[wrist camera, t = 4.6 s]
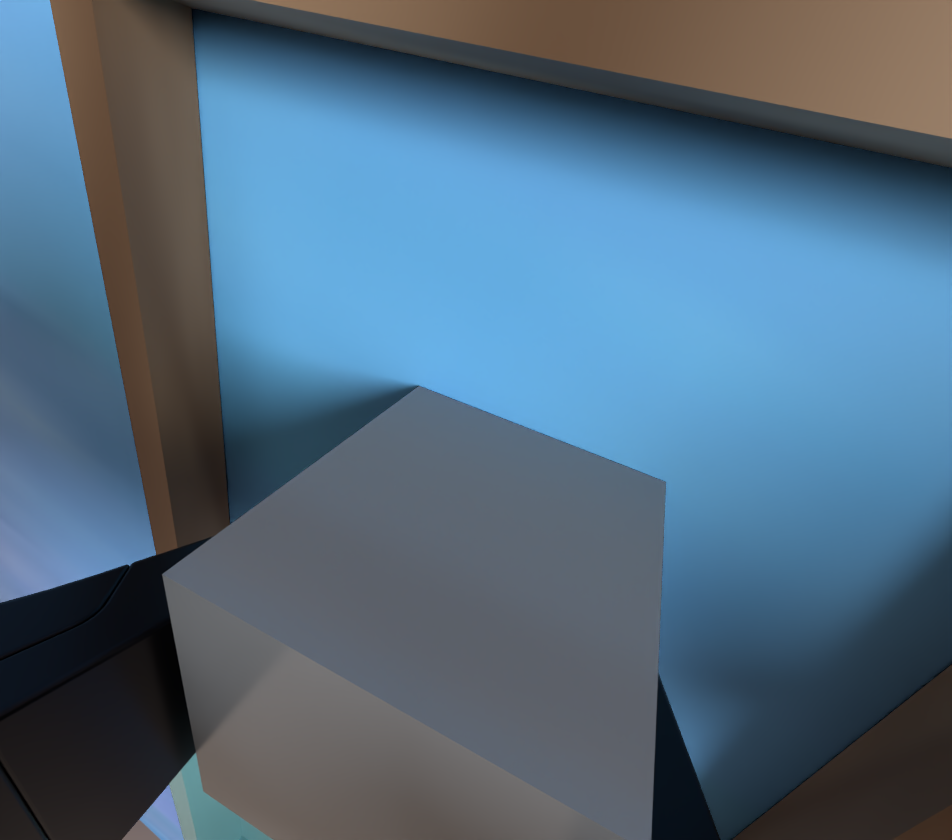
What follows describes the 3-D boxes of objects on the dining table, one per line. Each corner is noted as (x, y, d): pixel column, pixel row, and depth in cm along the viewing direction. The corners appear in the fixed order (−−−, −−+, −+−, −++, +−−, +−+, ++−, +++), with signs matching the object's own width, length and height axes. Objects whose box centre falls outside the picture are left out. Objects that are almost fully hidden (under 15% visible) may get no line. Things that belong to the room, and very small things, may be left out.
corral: (1728, 194, 3) (2343, 194, 2) (721, 893, 11) (727, 981, 10) (144, -71, 7) (24, -131, 6) (216, 604, 15) (173, 643, 13)
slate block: (665, 481, 7) (650, 853, 3) (576, 648, 10) (498, 996, 5) (418, 385, 8) (161, 574, 4) (390, 557, 11) (203, 791, 6)
